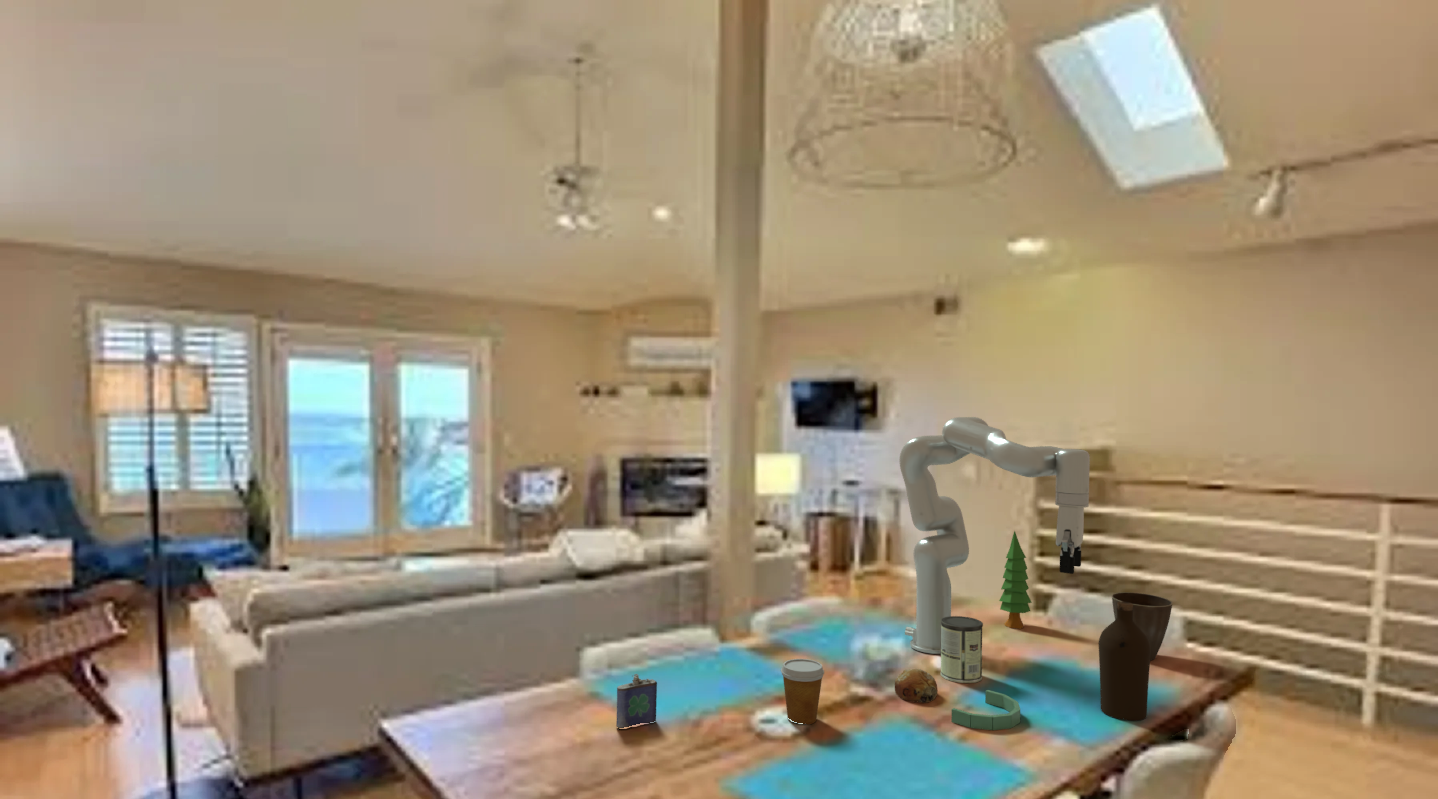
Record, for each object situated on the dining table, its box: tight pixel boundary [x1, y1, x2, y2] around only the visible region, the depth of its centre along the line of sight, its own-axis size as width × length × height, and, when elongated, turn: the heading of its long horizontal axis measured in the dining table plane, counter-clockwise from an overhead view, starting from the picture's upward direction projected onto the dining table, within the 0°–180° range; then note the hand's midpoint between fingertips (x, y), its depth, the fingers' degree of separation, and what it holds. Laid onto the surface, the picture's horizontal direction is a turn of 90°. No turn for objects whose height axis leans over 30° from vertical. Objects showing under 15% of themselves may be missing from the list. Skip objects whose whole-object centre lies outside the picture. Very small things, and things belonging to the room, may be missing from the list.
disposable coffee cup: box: [780, 658, 825, 725], centre depth 181 cm, size 10×10×12 cm
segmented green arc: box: [950, 689, 1021, 731], centre depth 183 cm, size 11×17×3 cm, turn 136°
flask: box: [615, 673, 658, 728], centre depth 177 cm, size 9×3×11 cm, turn 121°
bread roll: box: [894, 668, 939, 704], centre depth 196 cm, size 10×10×8 cm
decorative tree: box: [998, 530, 1032, 630], centre depth 256 cm, size 10×9×30 cm
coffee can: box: [940, 615, 984, 684], centre depth 209 cm, size 10×10×14 cm
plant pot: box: [1111, 591, 1173, 661], centre depth 227 cm, size 15×15×16 cm
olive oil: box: [1098, 602, 1151, 722], centre depth 186 cm, size 11×11×25 cm
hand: (1070, 569), depth 201 cm, fingers open, 9 cm apart
